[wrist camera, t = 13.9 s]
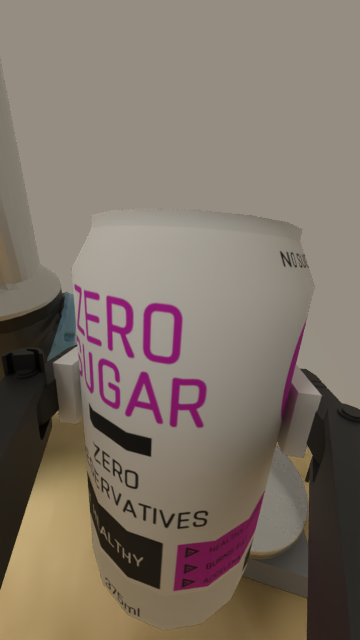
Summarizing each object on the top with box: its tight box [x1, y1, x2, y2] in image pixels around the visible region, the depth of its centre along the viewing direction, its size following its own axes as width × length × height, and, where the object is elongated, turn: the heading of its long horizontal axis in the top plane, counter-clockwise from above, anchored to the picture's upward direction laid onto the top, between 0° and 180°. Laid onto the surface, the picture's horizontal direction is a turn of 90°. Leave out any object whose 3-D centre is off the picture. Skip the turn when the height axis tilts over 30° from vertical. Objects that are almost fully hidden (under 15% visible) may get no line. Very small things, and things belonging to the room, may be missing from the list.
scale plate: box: [249, 446, 308, 559], centre depth 25 cm, size 14×14×4 cm
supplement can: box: [72, 209, 315, 630], centre depth 10 cm, size 8×8×15 cm
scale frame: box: [242, 529, 308, 598], centre depth 26 cm, size 13×13×3 cm
